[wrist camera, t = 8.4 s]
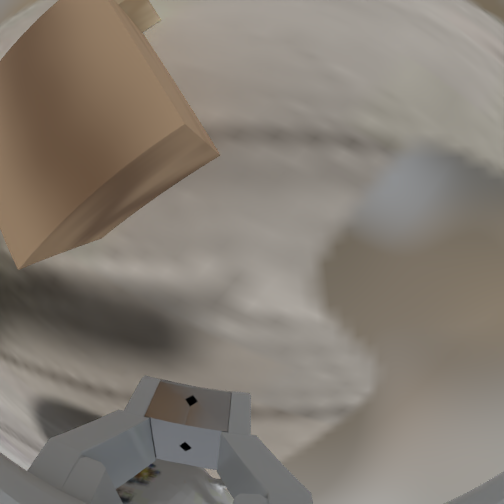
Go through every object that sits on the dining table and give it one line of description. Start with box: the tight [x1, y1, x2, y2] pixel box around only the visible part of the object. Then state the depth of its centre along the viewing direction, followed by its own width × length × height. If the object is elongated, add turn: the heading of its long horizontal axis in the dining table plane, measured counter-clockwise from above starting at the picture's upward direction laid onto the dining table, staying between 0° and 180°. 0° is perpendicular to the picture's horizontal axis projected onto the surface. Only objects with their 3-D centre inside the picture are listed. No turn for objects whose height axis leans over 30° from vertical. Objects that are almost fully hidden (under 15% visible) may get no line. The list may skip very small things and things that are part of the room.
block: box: [0, 0, 220, 270], centre depth 8 cm, size 7×8×6 cm
